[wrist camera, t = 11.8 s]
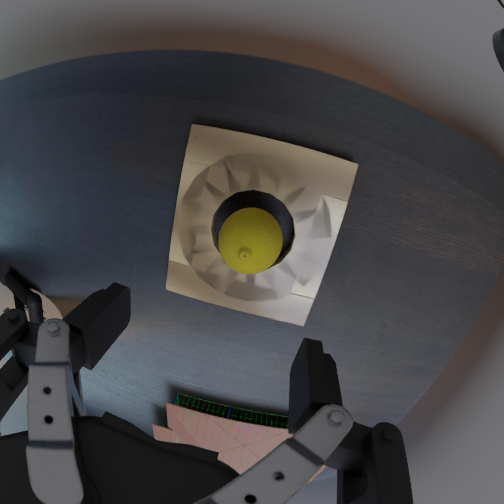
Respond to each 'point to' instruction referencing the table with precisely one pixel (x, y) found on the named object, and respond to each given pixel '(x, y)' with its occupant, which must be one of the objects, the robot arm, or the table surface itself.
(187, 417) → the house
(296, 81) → the table surface
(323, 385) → the robot arm
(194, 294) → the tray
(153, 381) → the table surface
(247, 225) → the lemon
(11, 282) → the door handle
